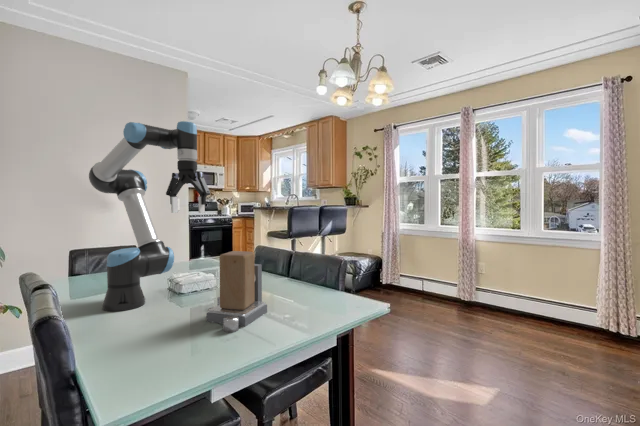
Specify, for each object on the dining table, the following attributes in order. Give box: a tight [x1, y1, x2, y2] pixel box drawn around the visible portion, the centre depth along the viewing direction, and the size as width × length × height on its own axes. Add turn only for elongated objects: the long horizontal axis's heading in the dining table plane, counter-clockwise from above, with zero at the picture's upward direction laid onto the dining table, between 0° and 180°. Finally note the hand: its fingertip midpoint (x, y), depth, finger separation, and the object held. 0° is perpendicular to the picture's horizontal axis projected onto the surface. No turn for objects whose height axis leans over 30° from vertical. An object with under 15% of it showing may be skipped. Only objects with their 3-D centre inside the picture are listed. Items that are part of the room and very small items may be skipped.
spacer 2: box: [222, 316, 240, 334], centre depth 111 cm, size 5×5×4 cm
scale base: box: [206, 263, 268, 328], centre depth 125 cm, size 16×19×18 cm
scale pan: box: [208, 301, 266, 317], centre depth 124 cm, size 15×15×4 cm
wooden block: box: [219, 250, 255, 310], centre depth 123 cm, size 10×10×20 cm
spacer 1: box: [216, 296, 220, 306], centre depth 135 cm, size 5×5×4 cm
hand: (188, 212), depth 135 cm, fingers open, 13 cm apart
